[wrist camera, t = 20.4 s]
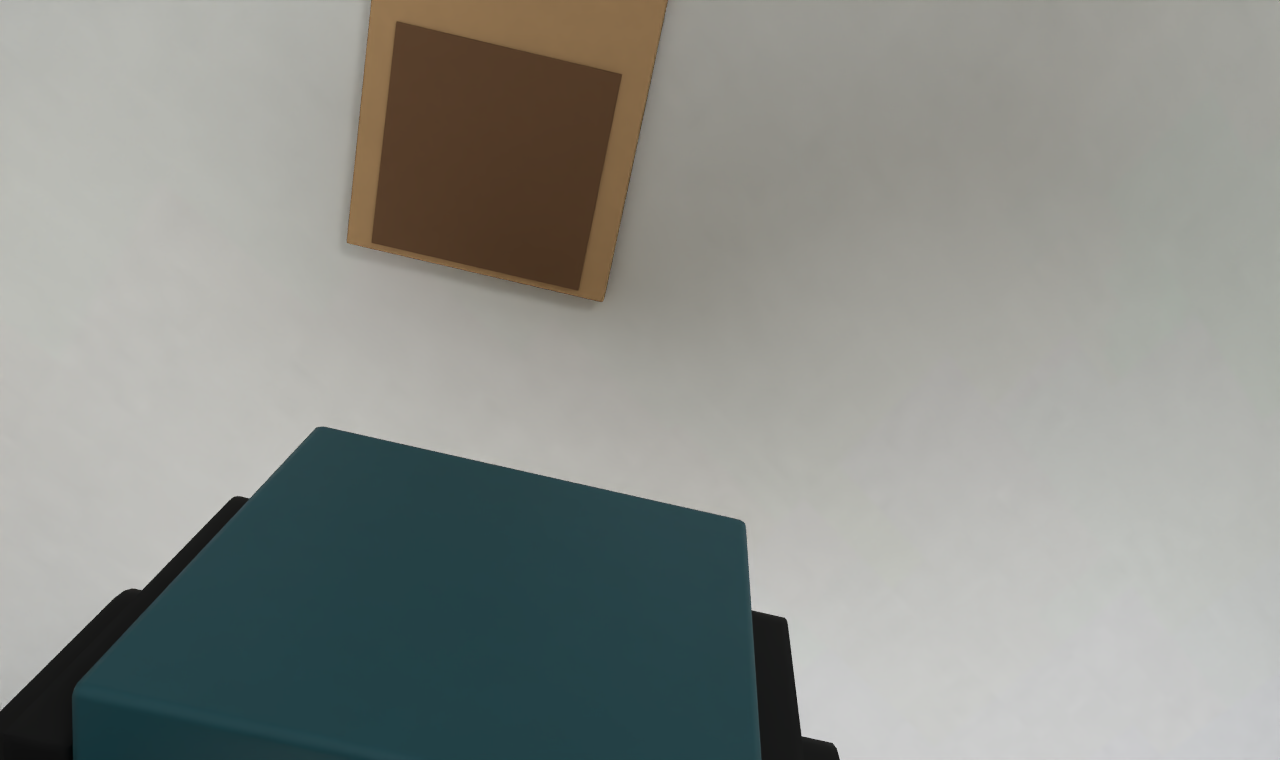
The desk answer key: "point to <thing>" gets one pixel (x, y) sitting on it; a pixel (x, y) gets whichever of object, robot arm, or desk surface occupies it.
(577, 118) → the word mat
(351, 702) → the teal letter i cube
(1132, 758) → the desk surface
